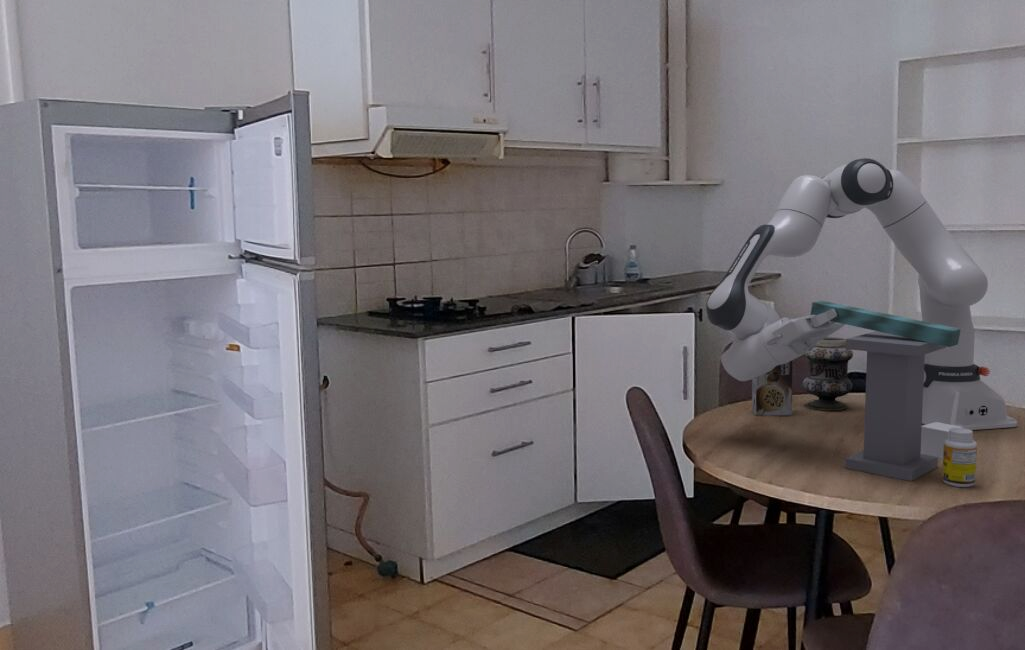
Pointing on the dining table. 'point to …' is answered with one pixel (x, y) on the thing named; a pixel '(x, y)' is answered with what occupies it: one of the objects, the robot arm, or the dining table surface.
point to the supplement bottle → (959, 458)
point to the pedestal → (893, 406)
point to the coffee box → (773, 391)
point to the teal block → (890, 324)
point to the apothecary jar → (828, 373)
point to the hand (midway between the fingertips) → (842, 310)
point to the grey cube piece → (935, 438)
